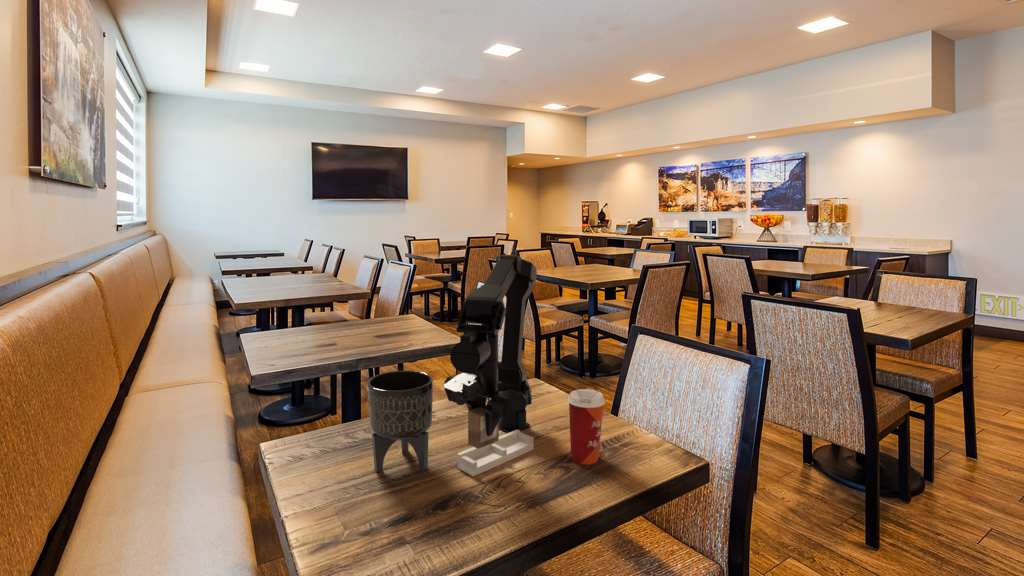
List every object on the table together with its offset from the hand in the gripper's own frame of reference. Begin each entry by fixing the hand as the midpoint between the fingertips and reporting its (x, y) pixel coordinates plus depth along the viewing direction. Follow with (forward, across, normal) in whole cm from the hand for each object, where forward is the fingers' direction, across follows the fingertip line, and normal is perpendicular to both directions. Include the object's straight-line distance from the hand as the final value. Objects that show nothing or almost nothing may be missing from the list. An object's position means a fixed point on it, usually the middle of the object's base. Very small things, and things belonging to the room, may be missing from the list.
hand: (483, 432), depth 109 cm
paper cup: (+7, +12, +17) cm, 22 cm away
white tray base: (+7, 0, +4) cm, 8 cm away
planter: (+7, -12, -12) cm, 18 cm away
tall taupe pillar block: (+2, 0, 0) cm, 2 cm away
